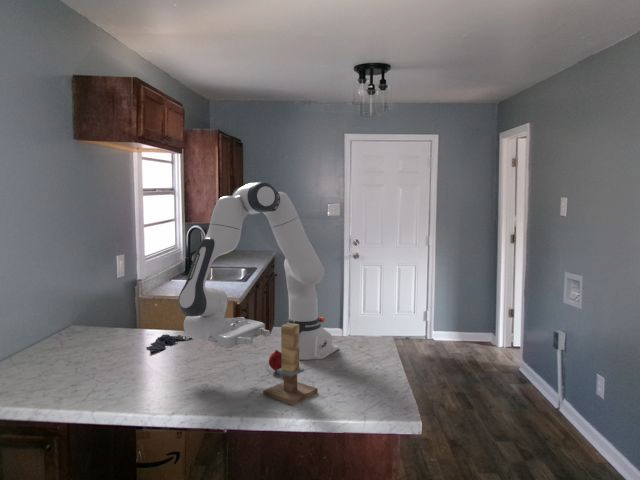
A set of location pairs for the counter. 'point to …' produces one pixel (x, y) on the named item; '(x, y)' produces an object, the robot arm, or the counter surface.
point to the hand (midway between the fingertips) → (260, 337)
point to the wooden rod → (290, 347)
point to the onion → (275, 360)
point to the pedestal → (290, 388)
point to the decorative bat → (164, 342)
